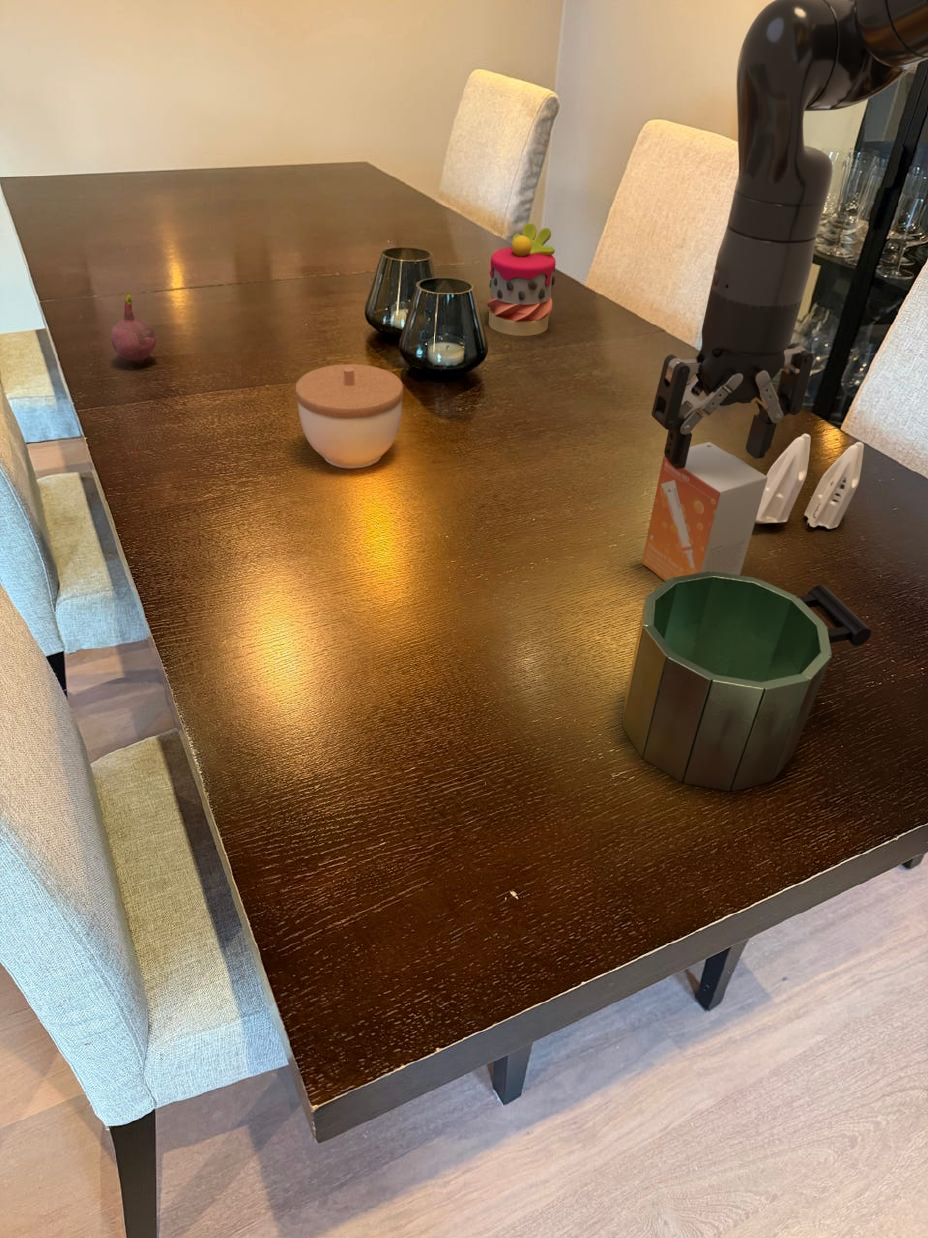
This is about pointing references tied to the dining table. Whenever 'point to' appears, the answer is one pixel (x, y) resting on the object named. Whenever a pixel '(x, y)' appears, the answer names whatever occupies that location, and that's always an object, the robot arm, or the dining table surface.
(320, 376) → the lidded bowl
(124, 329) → the vegetable
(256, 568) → the dining table surface
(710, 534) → the small box
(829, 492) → the shaker set
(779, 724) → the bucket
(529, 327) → the cake
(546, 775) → the dining table surface
